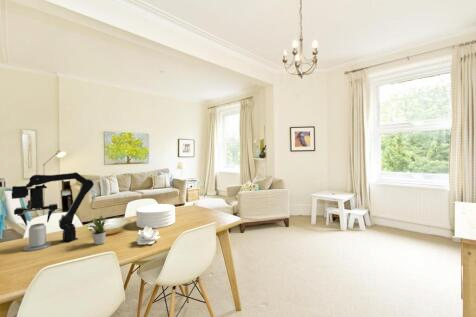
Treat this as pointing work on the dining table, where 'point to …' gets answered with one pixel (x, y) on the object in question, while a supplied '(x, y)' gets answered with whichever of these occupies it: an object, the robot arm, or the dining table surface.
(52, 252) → the dining table surface
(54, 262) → the dining table surface
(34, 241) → the can
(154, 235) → the lotus flower
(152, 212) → the plate stack
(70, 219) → the robot arm
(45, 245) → the coaster
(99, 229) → the house plant
